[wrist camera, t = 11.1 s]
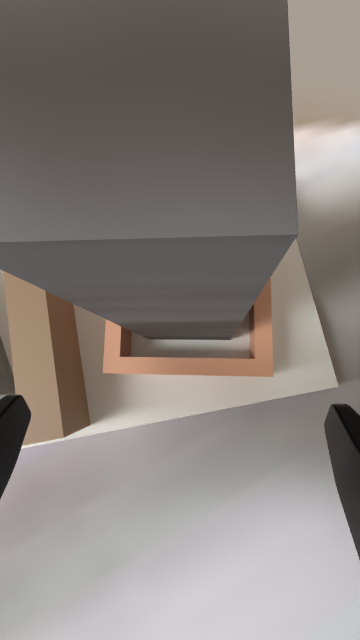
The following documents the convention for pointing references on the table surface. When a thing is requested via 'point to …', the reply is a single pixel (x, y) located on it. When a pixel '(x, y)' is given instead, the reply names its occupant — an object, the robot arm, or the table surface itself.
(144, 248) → the peg
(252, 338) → the collar
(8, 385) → the collar
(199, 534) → the table surface
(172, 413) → the plate
